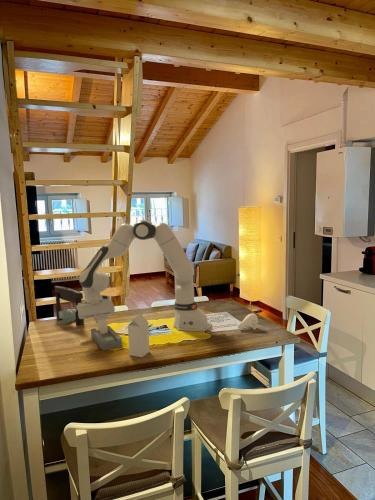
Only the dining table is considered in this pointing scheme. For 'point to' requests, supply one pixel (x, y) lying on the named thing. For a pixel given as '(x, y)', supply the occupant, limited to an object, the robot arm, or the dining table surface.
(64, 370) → the dining table surface
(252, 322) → the white rounded lump
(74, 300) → the stool
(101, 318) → the switch knob
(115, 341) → the switch panel
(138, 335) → the milk carton
